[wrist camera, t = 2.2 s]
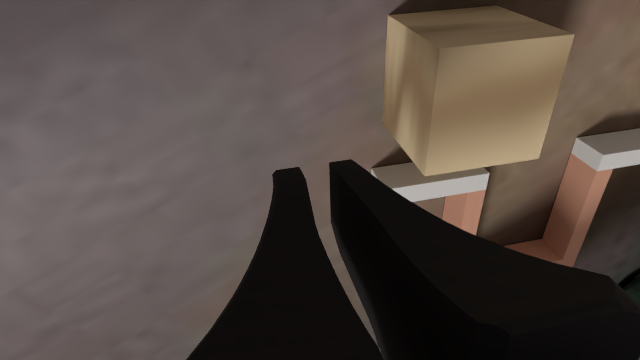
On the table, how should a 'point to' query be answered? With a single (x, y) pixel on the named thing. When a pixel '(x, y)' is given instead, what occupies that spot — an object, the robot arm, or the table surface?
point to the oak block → (471, 86)
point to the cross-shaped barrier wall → (569, 207)
